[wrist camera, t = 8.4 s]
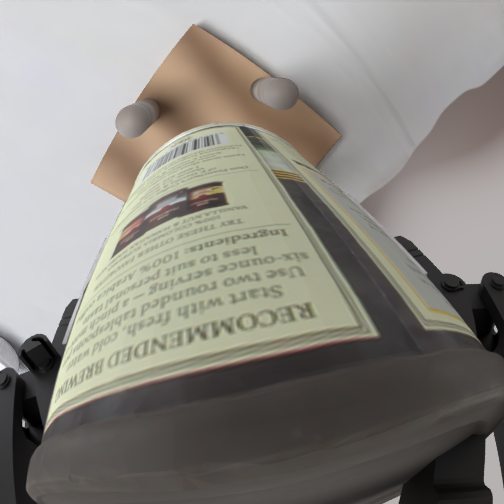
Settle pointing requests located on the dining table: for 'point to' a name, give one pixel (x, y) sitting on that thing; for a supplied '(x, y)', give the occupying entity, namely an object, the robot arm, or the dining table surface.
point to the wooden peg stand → (207, 108)
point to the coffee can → (255, 344)
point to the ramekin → (8, 356)
